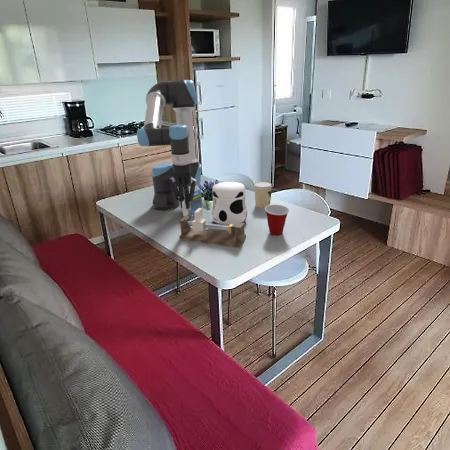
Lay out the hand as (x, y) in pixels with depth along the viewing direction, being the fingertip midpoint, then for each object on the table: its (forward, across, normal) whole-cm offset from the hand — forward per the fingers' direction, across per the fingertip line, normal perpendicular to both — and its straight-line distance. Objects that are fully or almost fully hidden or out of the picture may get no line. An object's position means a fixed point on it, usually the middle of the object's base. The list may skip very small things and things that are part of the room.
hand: (186, 215), depth 162 cm
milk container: (+10, +13, +20) cm, 26 cm away
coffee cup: (+10, +23, +45) cm, 52 cm away
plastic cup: (+10, +38, +13) cm, 42 cm away
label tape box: (+10, -9, +26) cm, 29 cm away
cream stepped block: (+6, +6, 0) cm, 9 cm away
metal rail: (+6, +12, 0) cm, 14 cm away
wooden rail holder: (+10, +12, 0) cm, 16 cm away
